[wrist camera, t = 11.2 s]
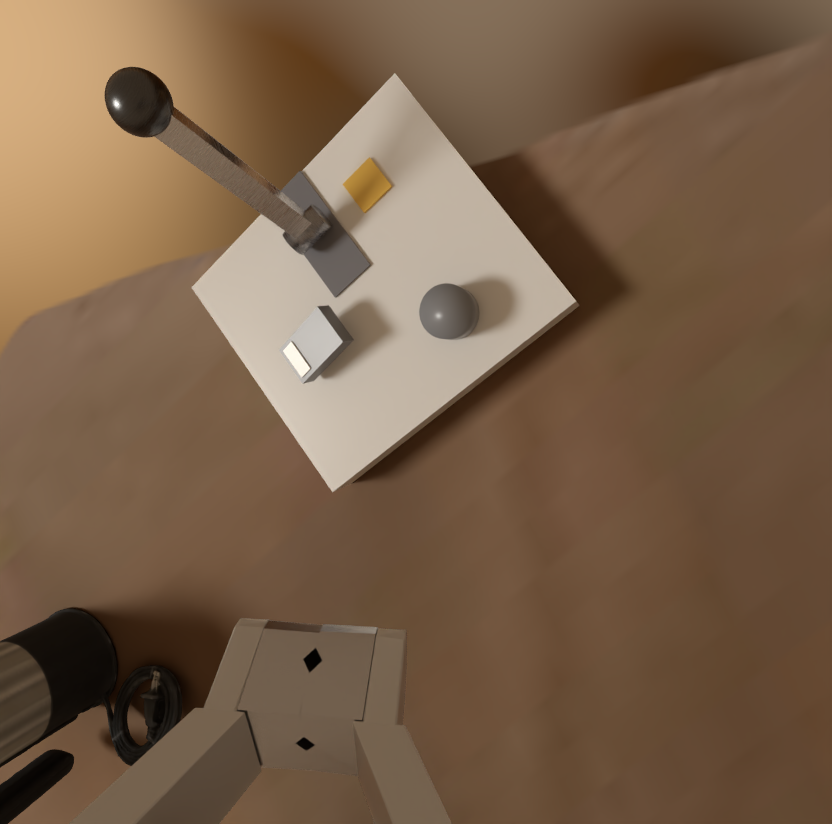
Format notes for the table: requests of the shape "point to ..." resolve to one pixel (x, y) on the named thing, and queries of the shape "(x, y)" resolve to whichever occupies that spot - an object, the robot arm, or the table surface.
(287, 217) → the toggle lever
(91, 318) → the table surface
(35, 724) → the milk frother
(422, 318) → the push button
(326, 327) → the rocker switch
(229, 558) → the table surface
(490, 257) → the switch panel
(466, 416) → the table surface
